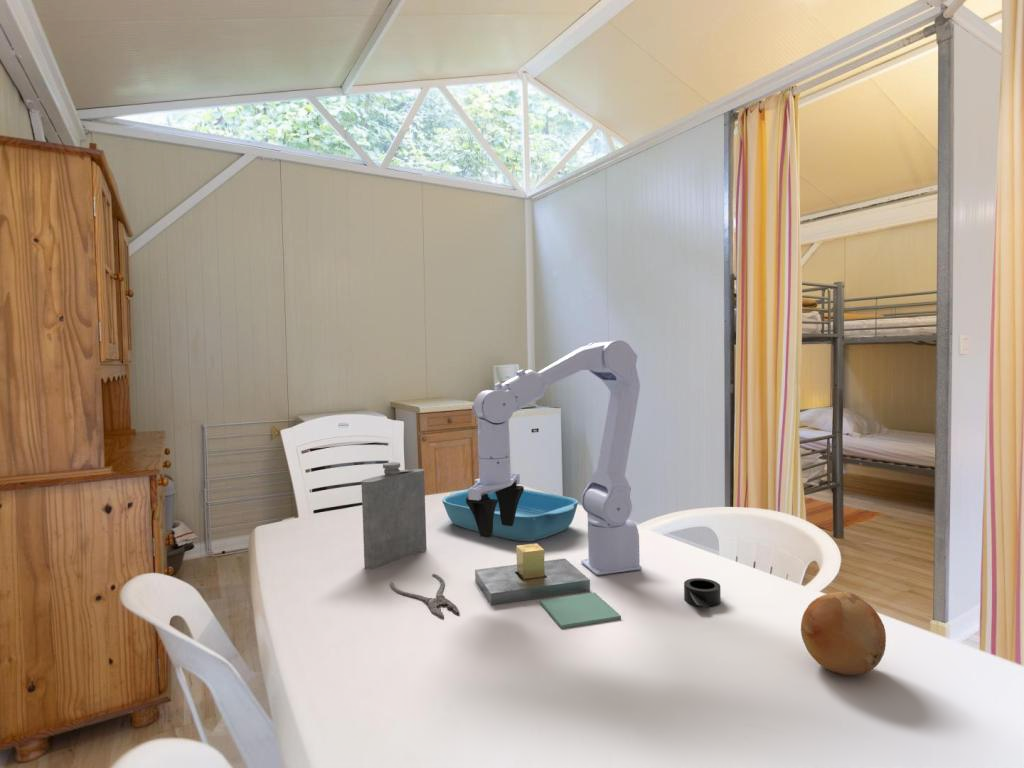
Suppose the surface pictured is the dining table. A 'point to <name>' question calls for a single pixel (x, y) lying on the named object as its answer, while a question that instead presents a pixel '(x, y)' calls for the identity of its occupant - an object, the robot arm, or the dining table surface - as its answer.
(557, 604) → the green mat
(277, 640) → the dining table surface
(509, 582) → the grey board with hole
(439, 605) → the pliers
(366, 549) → the hip flask
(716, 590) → the duct tape
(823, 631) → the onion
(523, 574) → the brushed gold bar
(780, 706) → the dining table surface
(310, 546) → the dining table surface
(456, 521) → the casserole dish
